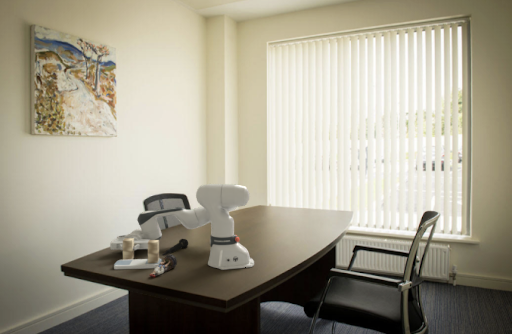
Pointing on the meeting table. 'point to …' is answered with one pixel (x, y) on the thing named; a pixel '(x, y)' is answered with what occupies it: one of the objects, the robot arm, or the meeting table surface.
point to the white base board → (135, 264)
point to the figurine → (165, 265)
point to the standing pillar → (153, 251)
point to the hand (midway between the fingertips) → (128, 248)
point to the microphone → (177, 246)
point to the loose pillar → (128, 248)
